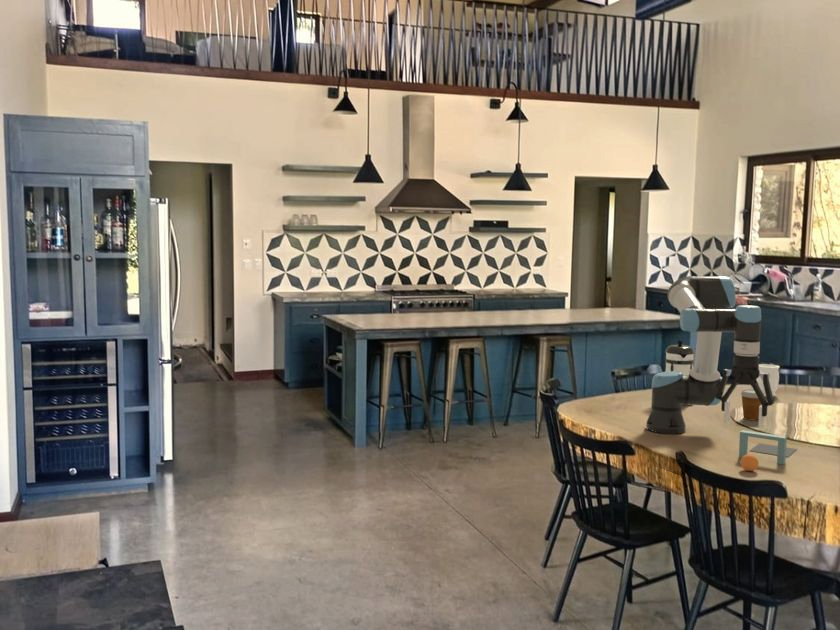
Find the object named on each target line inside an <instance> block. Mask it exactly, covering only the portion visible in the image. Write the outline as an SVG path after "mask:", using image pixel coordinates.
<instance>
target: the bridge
mask: <svg viewBox="0 0 840 630" xmlns="http://www.w3.org/2000/svg"><path fill="white" fill-rule="evenodd" d="M750 437H751V438H756V439H763V440H771V441H777V446H778V454H777V455H776V456H777V458H776V459H777V460H776V464H777V465H782V466H784V465H785V464H786V462H787V461H786V459H787V457H786V447H787V441H788V440H787V439H788V437H787V436H786V435H785V436H784V435H780V434H779V435H778V434H771V433H764V432H757V431H750V430H740V431H739V442H738V443H739V448H738V458H740V459H741V458H742V457H743V456H744V455H747V454H748V449H749V448H748V447H749V446H748V445H749V444H748V443H749V438H750Z"/></svg>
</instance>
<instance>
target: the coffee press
mask: <svg viewBox="0 0 840 630" xmlns="http://www.w3.org/2000/svg"><path fill="white" fill-rule="evenodd" d="M665 354H666V355H665V360H664V361H665V372H667V371H679V372H682V373H683V376H689V372H690V370H691V369H692V368H694V362H695V358H694V354H695V351H694V349H693V347H691V346H690V345H685V344H683V340H682V339H679V340H677V344H671V345H668V347H666V349H665Z"/></svg>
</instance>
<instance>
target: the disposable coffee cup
mask: <svg viewBox="0 0 840 630" xmlns="http://www.w3.org/2000/svg"><path fill="white" fill-rule="evenodd" d="M762 393H763V395H764V392H763V391H762ZM740 395H741V400H742V401H741V403H742V414H743V419H744V418H747V419H755V420H754V421H758V420H757V419H759V406H761V405H762V404H761V402H760V401H759V399H758V397H757V395H756V393H755V391H754V389H753V388H752V389H751V388H749V389H747V388H745V389H742V390H741V392H740ZM764 397H766V396H765V395H764ZM747 419H746V420H747Z"/></svg>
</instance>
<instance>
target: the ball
mask: <svg viewBox="0 0 840 630" xmlns="http://www.w3.org/2000/svg"><path fill="white" fill-rule="evenodd" d="M740 466H741V468H742V469H744V470H745V471H747V472H753V471H755V470H757V469H758V467H759V466H760V465H759V460H758V458H757V457H756V456H755V455H754V454H751V453H750V454H748V453H747V455H744V456H743V457H742V458H740Z"/></svg>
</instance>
